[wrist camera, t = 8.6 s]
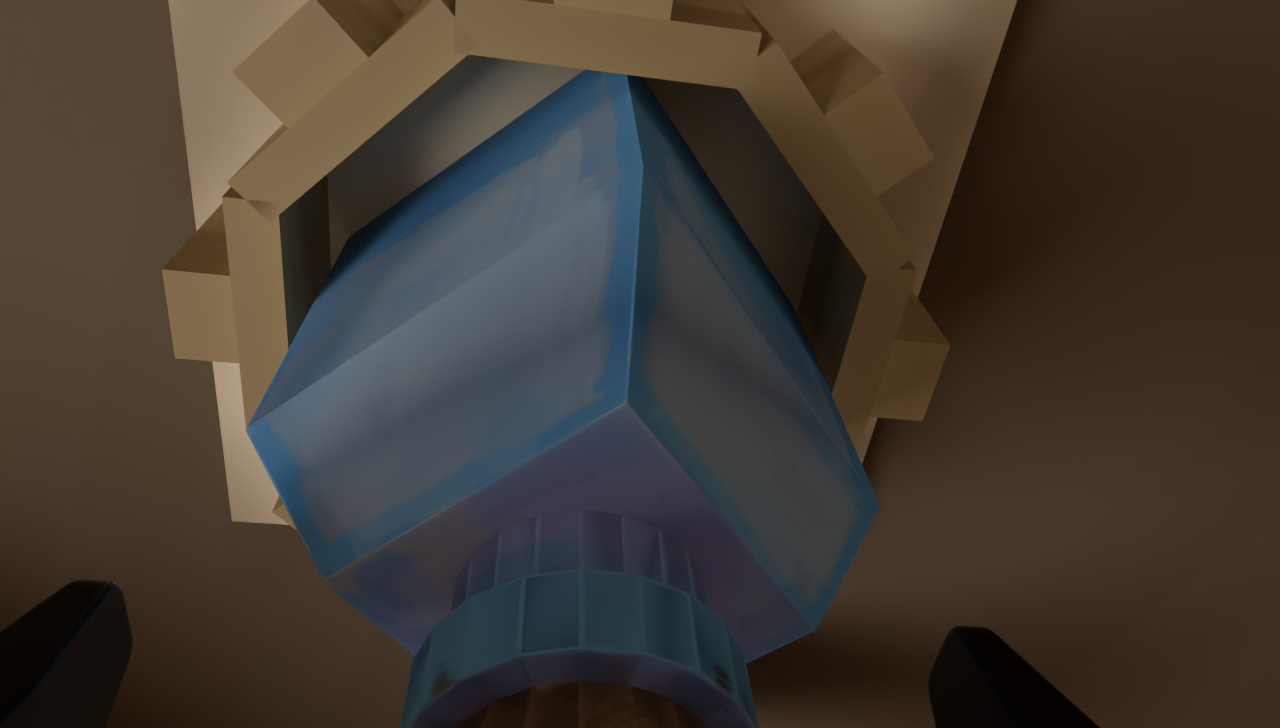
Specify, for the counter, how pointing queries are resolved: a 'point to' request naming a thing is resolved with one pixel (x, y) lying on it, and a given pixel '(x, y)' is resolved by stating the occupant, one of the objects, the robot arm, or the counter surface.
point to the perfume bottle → (567, 432)
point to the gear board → (516, 81)
